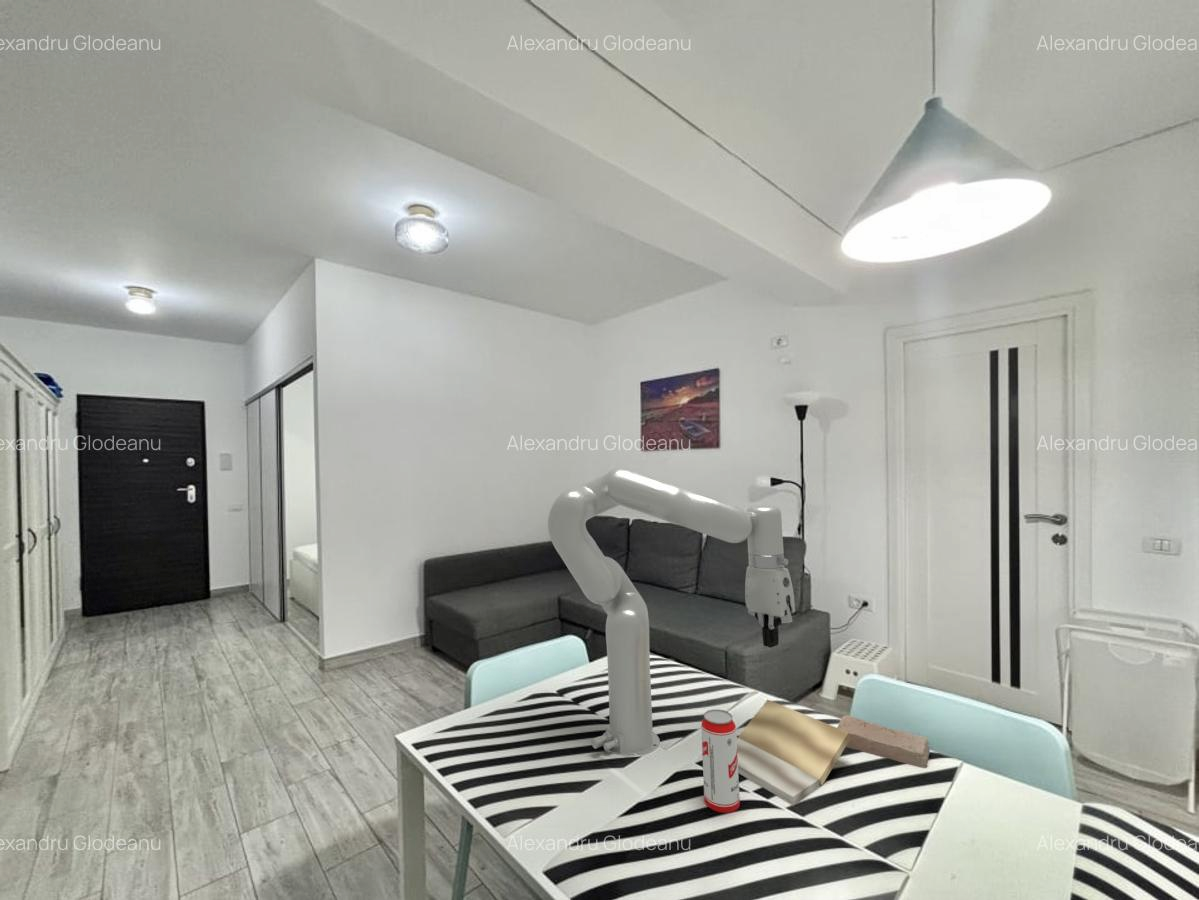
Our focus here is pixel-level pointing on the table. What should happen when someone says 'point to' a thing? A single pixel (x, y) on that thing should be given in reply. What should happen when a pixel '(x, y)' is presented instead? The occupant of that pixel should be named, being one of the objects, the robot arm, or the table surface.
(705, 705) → the table surface
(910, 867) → the table surface
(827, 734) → the oak plank
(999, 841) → the table surface
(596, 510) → the robot arm
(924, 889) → the table surface
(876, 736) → the brick
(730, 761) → the beer can
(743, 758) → the board
